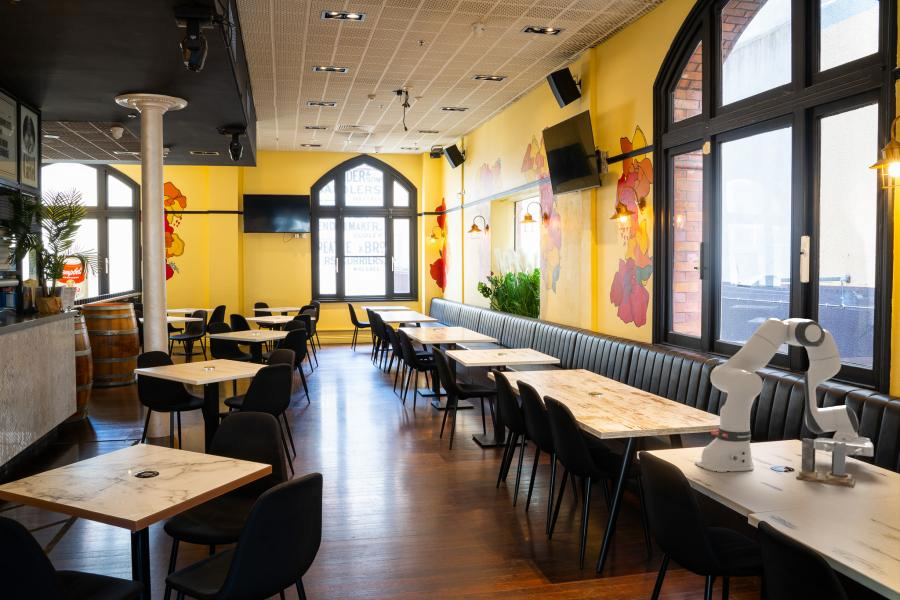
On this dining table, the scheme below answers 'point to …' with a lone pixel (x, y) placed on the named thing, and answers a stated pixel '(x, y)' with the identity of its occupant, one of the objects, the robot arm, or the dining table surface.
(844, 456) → the grey tall block
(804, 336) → the robot arm
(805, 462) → the twin post stand
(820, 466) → the dining table surface
